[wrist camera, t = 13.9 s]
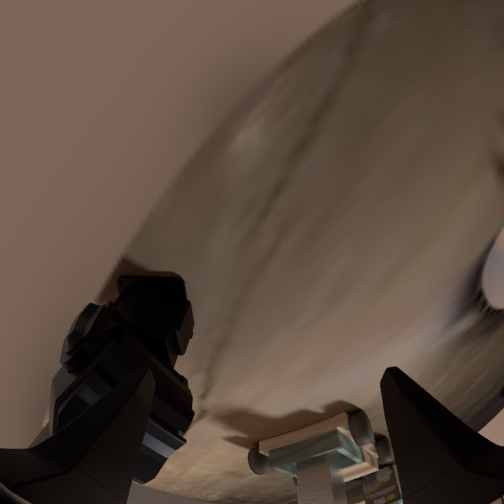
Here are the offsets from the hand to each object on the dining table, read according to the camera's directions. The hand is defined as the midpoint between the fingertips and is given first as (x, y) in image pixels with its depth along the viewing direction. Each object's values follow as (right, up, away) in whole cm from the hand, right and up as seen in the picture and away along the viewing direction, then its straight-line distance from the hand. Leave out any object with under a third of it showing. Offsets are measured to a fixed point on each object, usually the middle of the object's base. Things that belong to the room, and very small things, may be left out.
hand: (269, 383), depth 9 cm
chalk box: (+32, -51, +35) cm, 70 cm away
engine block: (+9, -25, +23) cm, 35 cm away
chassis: (+12, -28, +26) cm, 40 cm away
